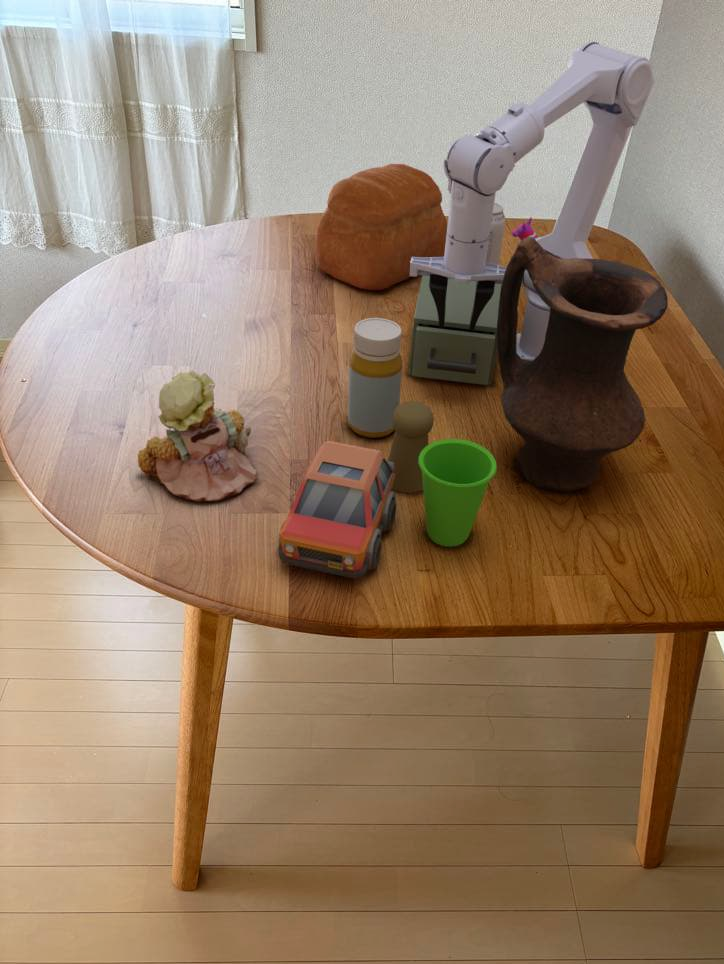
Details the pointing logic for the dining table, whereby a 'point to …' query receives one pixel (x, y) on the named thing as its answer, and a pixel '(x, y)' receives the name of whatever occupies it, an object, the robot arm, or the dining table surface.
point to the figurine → (198, 443)
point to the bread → (380, 226)
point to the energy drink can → (496, 235)
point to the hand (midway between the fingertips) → (456, 327)
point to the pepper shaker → (409, 444)
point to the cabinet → (456, 312)
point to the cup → (454, 487)
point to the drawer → (453, 354)
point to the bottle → (374, 377)
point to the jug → (574, 363)
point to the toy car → (340, 512)
